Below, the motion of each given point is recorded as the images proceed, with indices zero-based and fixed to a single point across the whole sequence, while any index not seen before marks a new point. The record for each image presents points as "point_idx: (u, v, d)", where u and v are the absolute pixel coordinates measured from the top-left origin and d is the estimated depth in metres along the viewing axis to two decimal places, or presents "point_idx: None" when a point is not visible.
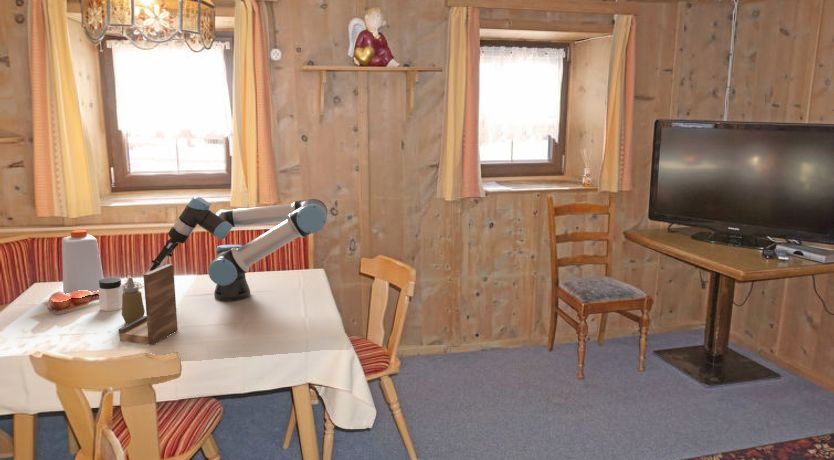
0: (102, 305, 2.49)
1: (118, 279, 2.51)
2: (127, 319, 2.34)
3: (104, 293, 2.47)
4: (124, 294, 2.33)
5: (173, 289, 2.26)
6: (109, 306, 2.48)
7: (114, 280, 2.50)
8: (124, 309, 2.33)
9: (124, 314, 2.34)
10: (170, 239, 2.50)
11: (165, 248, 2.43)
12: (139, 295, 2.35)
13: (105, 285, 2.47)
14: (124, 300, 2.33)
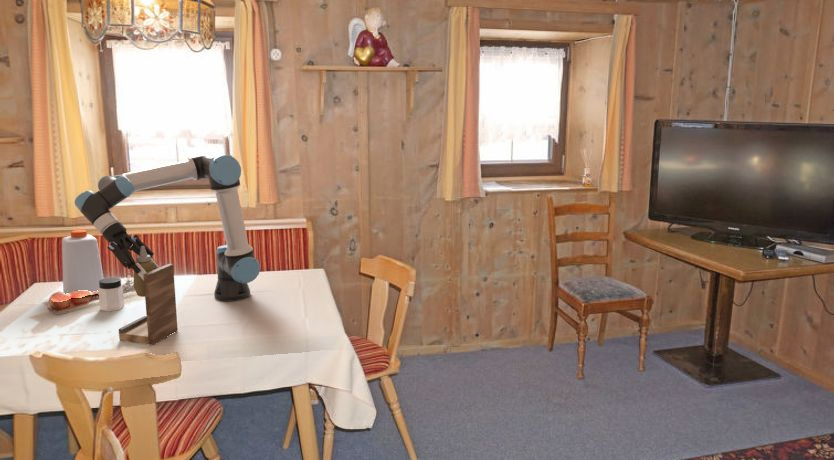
0: (102, 305, 2.49)
1: (118, 279, 2.51)
2: (139, 291, 2.18)
3: (104, 293, 2.47)
4: None
5: (173, 289, 2.26)
6: (109, 306, 2.48)
7: (114, 280, 2.50)
8: (136, 280, 2.17)
9: (136, 285, 2.17)
10: None
11: (113, 251, 2.13)
12: (152, 265, 2.19)
13: (105, 285, 2.47)
14: None
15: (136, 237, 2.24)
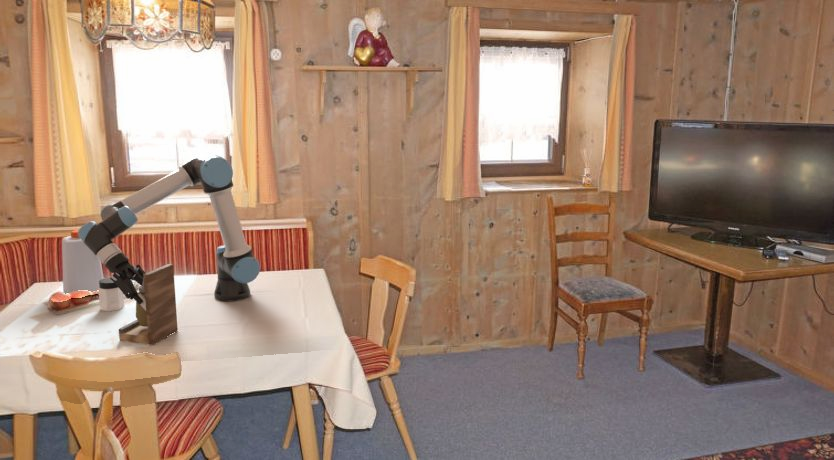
0: (102, 305, 2.49)
1: None
2: (142, 321, 2.20)
3: (104, 293, 2.47)
4: None
5: (173, 289, 2.26)
6: (109, 306, 2.48)
7: None
8: (138, 310, 2.19)
9: (138, 316, 2.20)
10: None
11: (116, 282, 2.16)
12: None
13: (105, 285, 2.47)
14: None
15: (138, 267, 2.27)
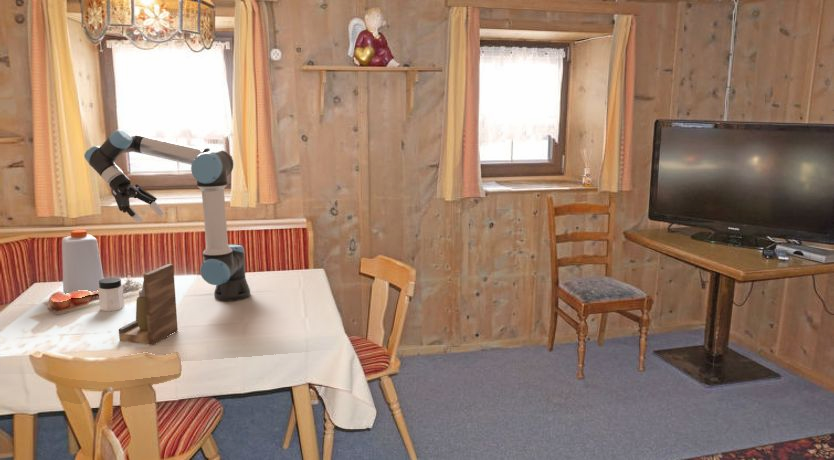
0: (102, 305, 2.49)
1: (118, 279, 2.51)
2: (142, 325, 2.20)
3: (103, 293, 2.47)
4: (138, 299, 2.19)
5: (173, 289, 2.26)
6: (109, 306, 2.48)
7: (114, 280, 2.50)
8: (138, 314, 2.20)
9: (138, 320, 2.20)
10: None
11: (115, 196, 2.40)
12: None
13: (105, 285, 2.47)
14: (138, 305, 2.19)
15: (138, 186, 2.52)
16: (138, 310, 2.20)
